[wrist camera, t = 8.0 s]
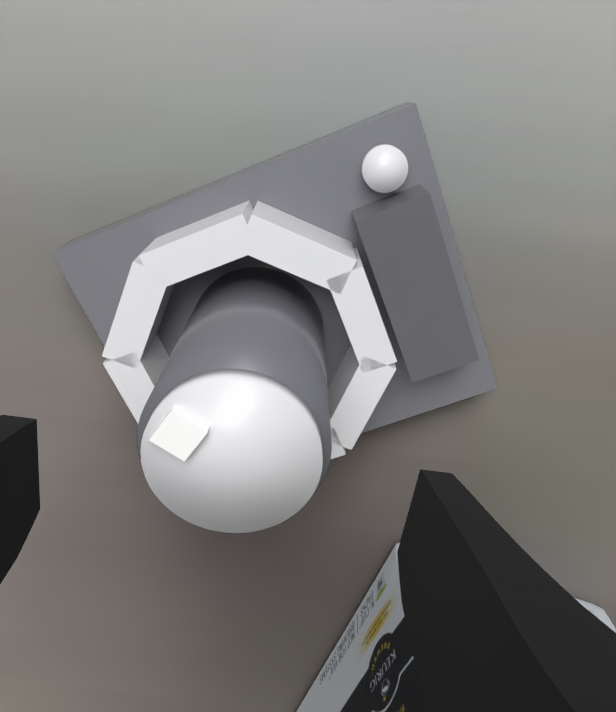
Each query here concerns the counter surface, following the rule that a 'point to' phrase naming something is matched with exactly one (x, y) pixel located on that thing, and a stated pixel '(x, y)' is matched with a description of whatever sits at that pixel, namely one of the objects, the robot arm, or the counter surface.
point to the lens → (241, 407)
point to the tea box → (378, 655)
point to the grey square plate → (304, 272)
